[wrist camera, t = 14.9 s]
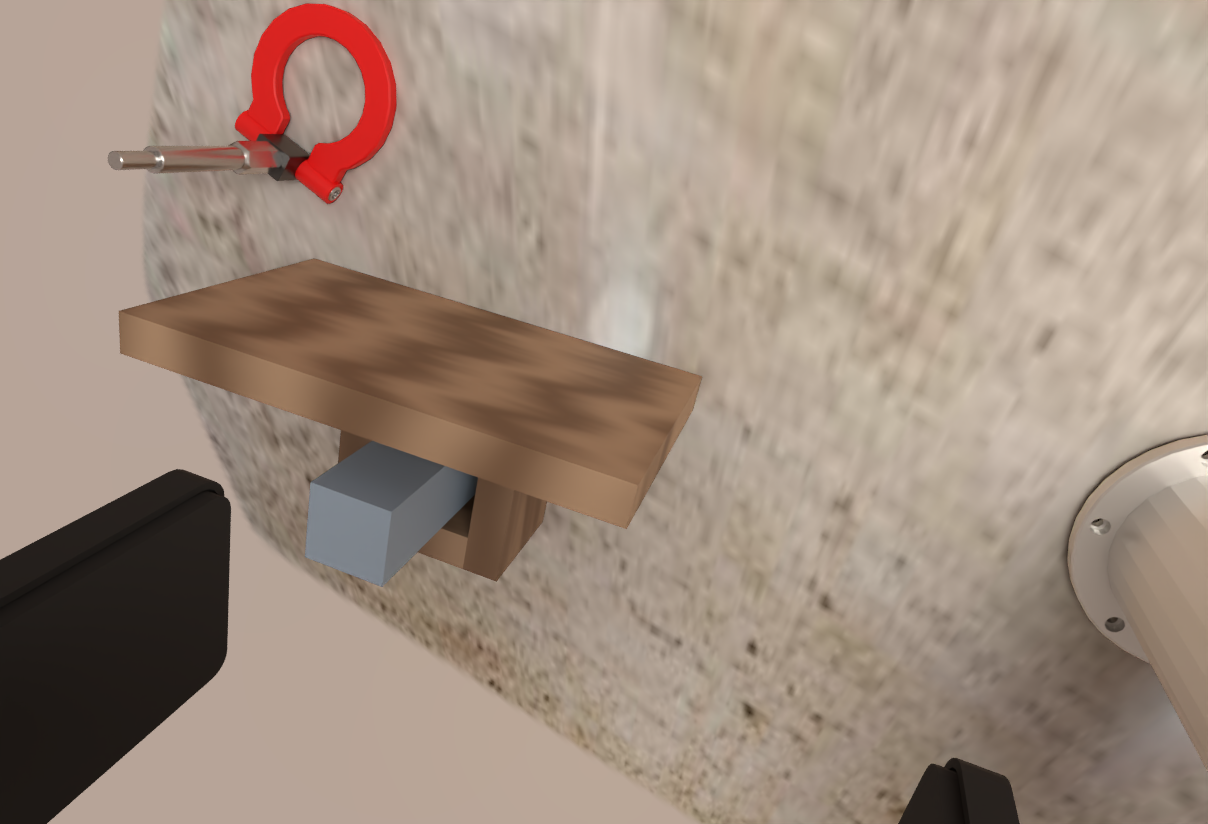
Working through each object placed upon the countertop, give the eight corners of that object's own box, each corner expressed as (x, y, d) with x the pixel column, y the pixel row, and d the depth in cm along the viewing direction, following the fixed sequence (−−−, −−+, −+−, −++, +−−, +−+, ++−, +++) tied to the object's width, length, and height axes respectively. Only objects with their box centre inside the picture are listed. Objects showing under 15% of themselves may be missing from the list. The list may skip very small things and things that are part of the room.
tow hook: (304, -28, 43) (235, 122, 46) (103, -95, 31) (31, 114, 34) (428, 72, 42) (348, 214, 46) (274, 44, 31) (184, 238, 34)
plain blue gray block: (502, 416, 45) (391, 511, 34) (491, 477, 47) (382, 586, 36) (439, 395, 46) (310, 482, 35) (430, 456, 48) (304, 557, 37)
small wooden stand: (702, 376, 43) (638, 485, 31) (650, 559, 48) (576, 718, 35) (314, 258, 48) (119, 311, 35) (302, 436, 52) (126, 539, 40)
